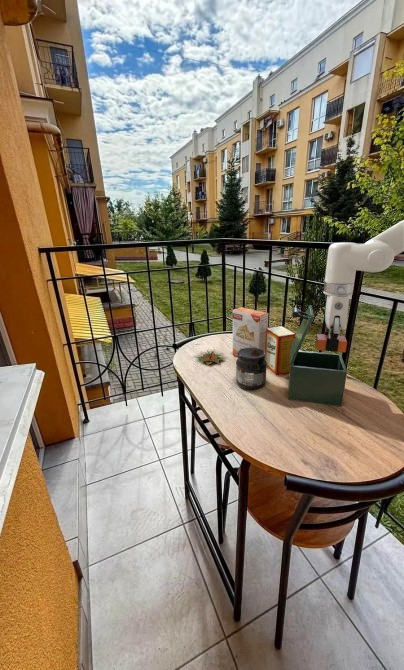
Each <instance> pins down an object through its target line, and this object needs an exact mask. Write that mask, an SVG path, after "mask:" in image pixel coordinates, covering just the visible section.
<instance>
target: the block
mask: <svg viewBox="0 0 404 670" xmlns="http://www.w3.org/2000/svg"><path fill="white" fill-rule="evenodd" d="M327 338H328V335H325V333H324V334H323V333H322V334H321V333H317V334H316V337H315V349H316V351H323V352H327V351H326V342H327ZM347 346H348V340H347V338H346V336H345V335H339V344H338V351H337V352H338V353H347V352H346V351H347ZM337 352H336V353H337Z"/></svg>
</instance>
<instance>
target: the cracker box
mask: <svg viewBox="0 0 404 670" xmlns="http://www.w3.org/2000/svg"><path fill="white" fill-rule="evenodd" d="M266 328H269V312H265V311H261V310H256V309H251V308H247V307H243V306H241V307H237V308H234V309H232V356H234V357H237V353H238V351H239V350H241V349H243V348H258V349H261V350H263V351H264V352H265V345H266Z"/></svg>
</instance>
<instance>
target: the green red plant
mask: <svg viewBox="0 0 404 670" xmlns="http://www.w3.org/2000/svg"><path fill="white" fill-rule="evenodd" d="M221 356H222V354H218V353H215V351H214V350H212V351H210V350H209V348H208V350H206V352H205V353H203V354H202V355H200V356H198V357H197V356H196V359H199V363H203V362H204V363H205V364H206V365H207V366H209V365H210V364H213V363H214V362H215V363H217V364H220V361H224V360H225V358H223V357H221Z"/></svg>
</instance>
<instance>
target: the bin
mask: <svg viewBox="0 0 404 670" xmlns="http://www.w3.org/2000/svg"><path fill="white" fill-rule="evenodd" d="M347 376H348V370H347V368H346V365H345V362H344V360H343V356H342V354H341V353H331V352H330V353H329V352H316V351H305V350H299V351H298V353H297V356H296V358H295V360H294V362H293V364H292V365H290V371H289V375H288V387H287V388H288V389H287V390H288V391H287V400H289V401H297V402H304V403H312V404H320V405H327V406H335V407H343V401H344V394H345V389H346V388H345V387H346V383H347Z"/></svg>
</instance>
